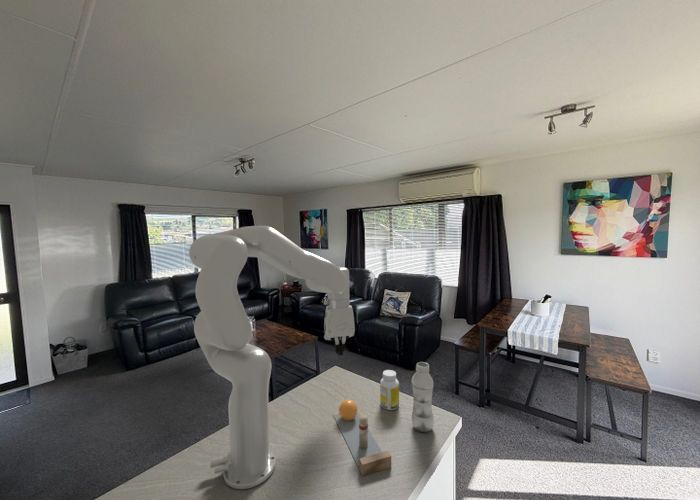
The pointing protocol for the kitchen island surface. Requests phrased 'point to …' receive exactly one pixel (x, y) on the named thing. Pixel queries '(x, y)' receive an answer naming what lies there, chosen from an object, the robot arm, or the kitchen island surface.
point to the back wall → (375, 463)
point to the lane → (356, 438)
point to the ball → (348, 410)
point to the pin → (363, 432)
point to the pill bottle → (389, 390)
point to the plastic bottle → (422, 398)
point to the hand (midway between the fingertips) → (339, 353)
